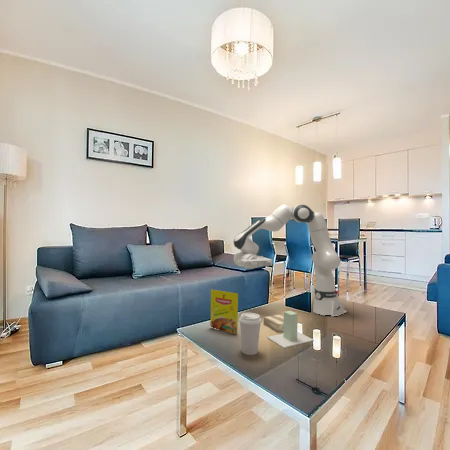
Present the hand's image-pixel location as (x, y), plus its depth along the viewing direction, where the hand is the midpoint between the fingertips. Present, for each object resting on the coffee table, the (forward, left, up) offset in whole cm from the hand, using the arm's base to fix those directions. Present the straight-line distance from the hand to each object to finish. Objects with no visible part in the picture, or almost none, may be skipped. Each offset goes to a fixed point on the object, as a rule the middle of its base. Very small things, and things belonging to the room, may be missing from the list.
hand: (263, 264), depth 149 cm
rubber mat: (+4, +27, -32) cm, 42 cm away
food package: (+28, +5, -32) cm, 43 cm away
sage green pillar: (+4, +27, -31) cm, 41 cm away
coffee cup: (+28, +29, -32) cm, 51 cm away
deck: (-2, +12, -32) cm, 34 cm away
